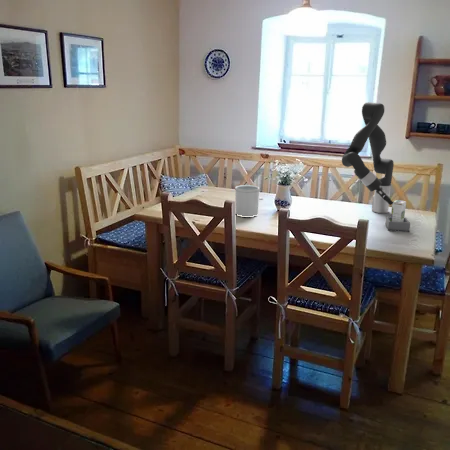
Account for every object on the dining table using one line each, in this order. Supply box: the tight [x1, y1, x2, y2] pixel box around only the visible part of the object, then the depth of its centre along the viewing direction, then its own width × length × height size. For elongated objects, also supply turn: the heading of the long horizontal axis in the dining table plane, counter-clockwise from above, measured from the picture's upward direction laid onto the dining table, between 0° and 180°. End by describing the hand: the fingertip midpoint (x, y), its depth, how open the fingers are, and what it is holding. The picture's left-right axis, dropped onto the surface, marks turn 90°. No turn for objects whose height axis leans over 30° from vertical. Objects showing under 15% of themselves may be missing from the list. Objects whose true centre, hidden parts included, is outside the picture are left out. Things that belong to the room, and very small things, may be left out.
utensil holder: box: [234, 184, 260, 216], centre depth 288 cm, size 15×15×18 cm
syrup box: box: [390, 199, 407, 222], centre depth 260 cm, size 6×6×14 cm
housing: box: [384, 216, 411, 233], centre depth 261 cm, size 11×11×5 cm
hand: (390, 202), depth 258 cm, fingers open, 8 cm apart
